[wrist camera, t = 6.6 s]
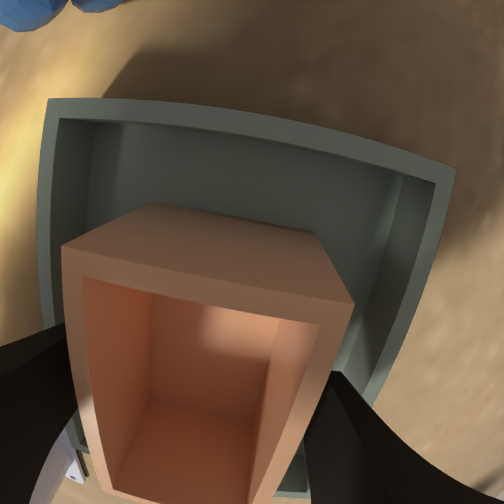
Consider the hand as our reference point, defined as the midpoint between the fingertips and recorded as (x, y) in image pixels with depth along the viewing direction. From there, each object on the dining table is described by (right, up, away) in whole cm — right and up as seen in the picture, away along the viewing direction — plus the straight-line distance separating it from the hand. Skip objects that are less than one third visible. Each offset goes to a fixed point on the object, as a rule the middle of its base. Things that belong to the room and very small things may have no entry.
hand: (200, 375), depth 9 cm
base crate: (0, +1, +3) cm, 3 cm away
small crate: (0, +1, +3) cm, 3 cm away
